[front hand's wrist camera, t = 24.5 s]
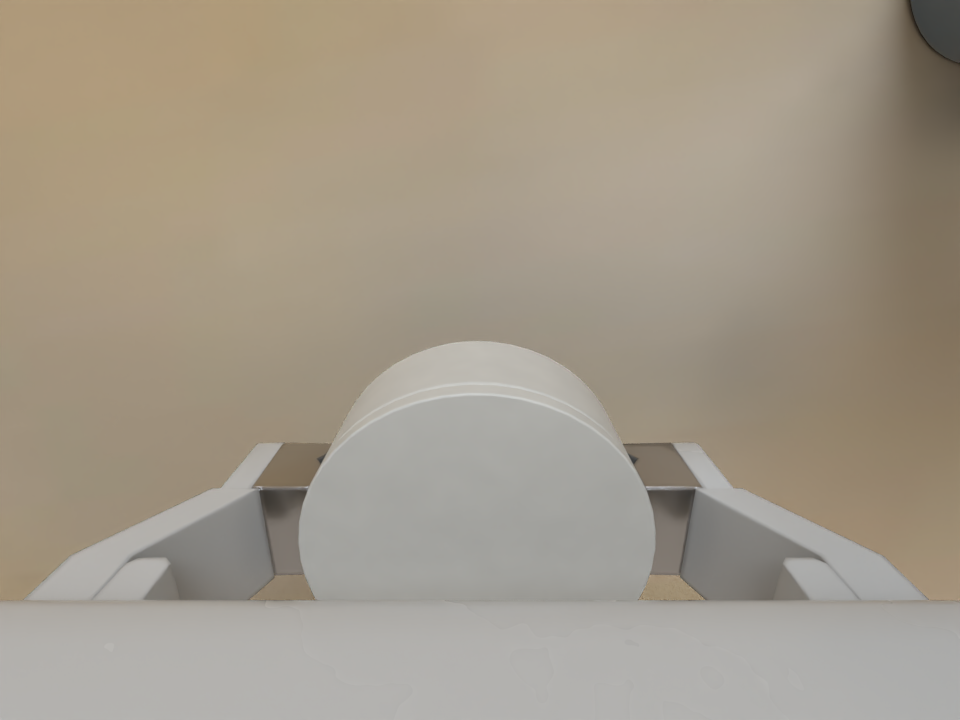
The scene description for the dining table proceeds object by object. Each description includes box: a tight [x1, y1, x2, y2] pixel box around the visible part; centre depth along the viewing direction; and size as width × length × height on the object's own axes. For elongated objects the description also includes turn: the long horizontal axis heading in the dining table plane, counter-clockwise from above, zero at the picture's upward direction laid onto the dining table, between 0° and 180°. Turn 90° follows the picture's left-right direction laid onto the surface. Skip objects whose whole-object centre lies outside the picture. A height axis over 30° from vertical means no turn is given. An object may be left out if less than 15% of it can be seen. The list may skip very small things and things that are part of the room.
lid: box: [298, 341, 656, 600], centre depth 9 cm, size 6×6×2 cm
